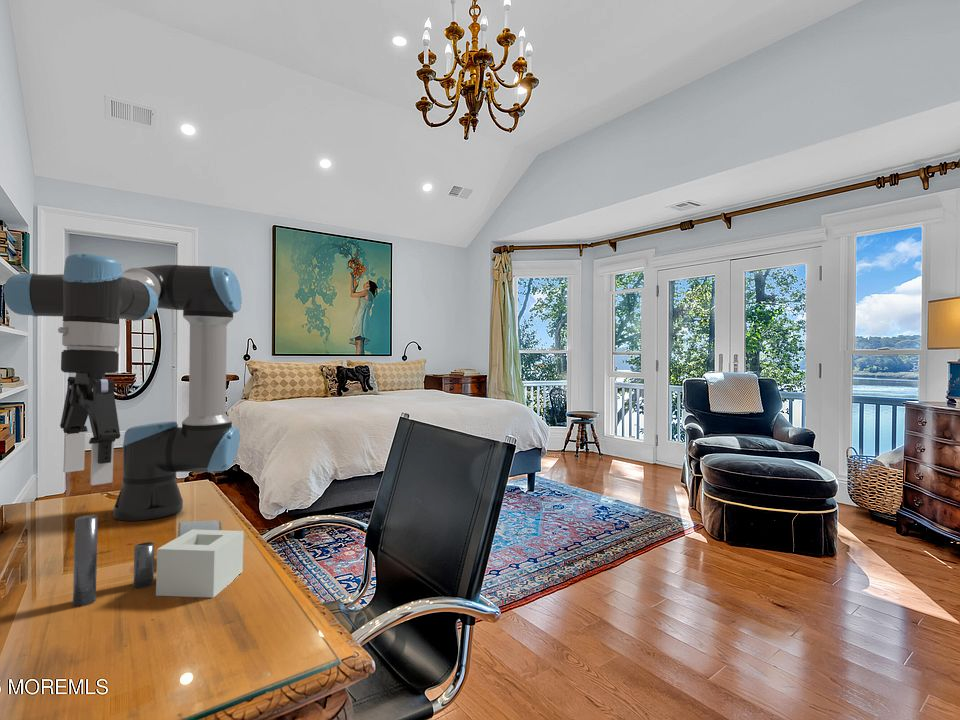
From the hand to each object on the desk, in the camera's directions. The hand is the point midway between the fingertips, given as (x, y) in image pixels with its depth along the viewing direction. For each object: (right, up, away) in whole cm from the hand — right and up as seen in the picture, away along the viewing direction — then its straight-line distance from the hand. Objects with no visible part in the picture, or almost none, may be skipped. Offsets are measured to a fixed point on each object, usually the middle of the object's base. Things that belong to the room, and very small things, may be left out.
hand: (87, 477), depth 82 cm
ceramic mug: (+7, -21, +20) cm, 30 cm away
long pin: (-1, -21, 0) cm, 21 cm away
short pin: (+5, -21, +7) cm, 23 cm away
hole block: (+15, -21, +8) cm, 27 cm away
